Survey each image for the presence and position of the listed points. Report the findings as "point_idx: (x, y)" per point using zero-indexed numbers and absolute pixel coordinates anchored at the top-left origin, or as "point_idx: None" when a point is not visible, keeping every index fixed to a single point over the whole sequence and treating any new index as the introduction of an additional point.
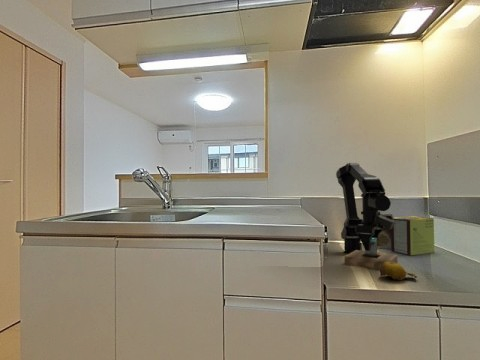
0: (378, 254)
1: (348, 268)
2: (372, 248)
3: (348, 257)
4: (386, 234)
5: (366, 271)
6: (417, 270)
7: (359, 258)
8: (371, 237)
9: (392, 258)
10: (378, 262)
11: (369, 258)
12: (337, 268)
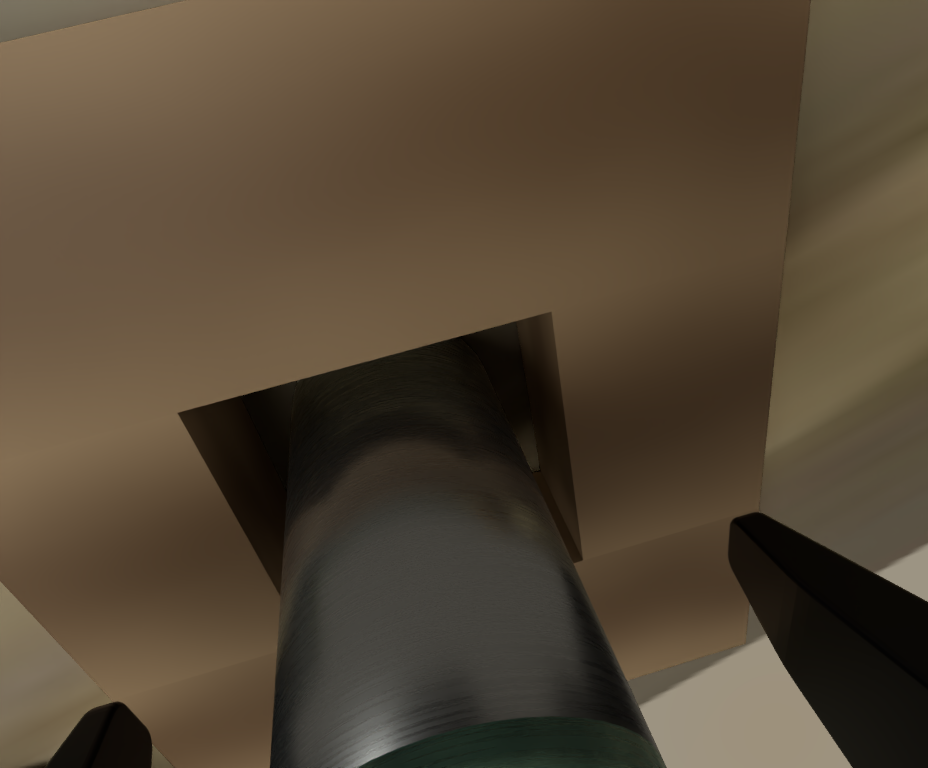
0: (160, 483)
1: (864, 420)
2: (558, 566)
3: (744, 596)
4: None
5: (914, 189)
6: None
7: (760, 479)
8: None
9: (243, 12)
10: (776, 138)
11: (666, 388)
12: (919, 482)
